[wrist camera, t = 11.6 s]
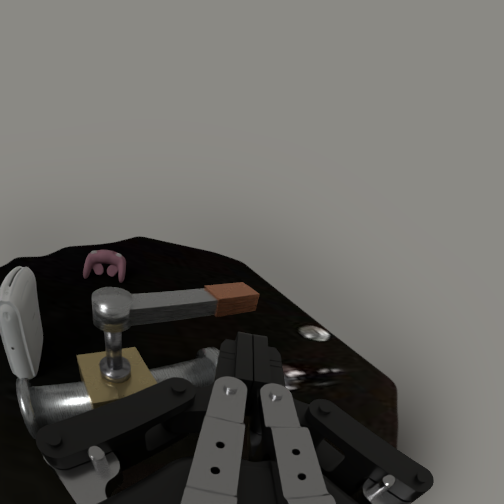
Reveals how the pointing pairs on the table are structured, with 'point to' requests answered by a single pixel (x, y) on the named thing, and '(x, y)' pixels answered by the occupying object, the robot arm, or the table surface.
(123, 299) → the lever
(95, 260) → the pink curved piece
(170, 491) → the robot arm
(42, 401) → the valve
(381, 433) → the table surface
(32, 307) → the photo printer
